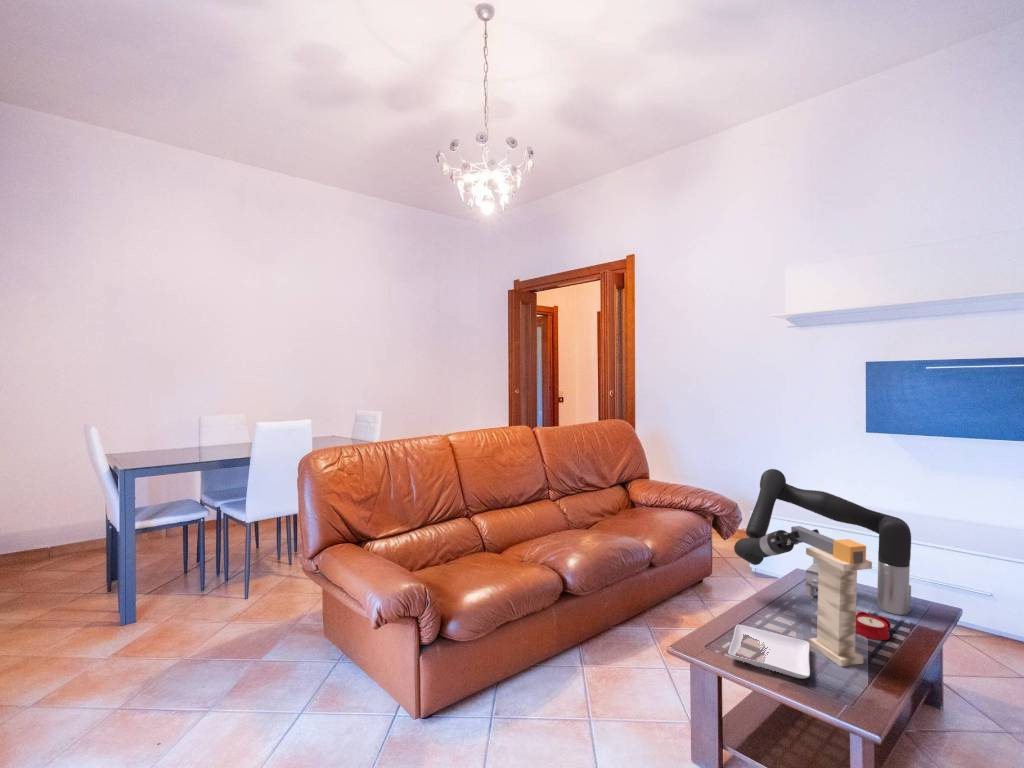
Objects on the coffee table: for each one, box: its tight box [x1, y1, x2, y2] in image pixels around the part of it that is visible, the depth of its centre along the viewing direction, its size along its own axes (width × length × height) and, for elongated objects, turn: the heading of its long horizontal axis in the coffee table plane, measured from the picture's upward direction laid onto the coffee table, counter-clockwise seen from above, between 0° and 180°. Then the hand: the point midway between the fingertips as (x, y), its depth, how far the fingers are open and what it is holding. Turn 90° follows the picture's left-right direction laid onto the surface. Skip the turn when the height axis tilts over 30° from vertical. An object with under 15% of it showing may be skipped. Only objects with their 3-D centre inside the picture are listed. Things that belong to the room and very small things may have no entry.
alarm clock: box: [855, 611, 891, 641], centre depth 170 cm, size 10×6×15 cm
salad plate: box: [727, 624, 811, 679], centre depth 155 cm, size 21×21×3 cm
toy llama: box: [805, 557, 819, 598], centre depth 197 cm, size 8×18×20 cm, turn 136°
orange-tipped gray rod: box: [790, 525, 867, 564], centre depth 160 cm, size 6×24×5 cm, turn 12°
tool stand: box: [805, 546, 873, 667], centre depth 156 cm, size 10×14×31 cm
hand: (808, 533), depth 166 cm, fingers open, 7 cm apart
